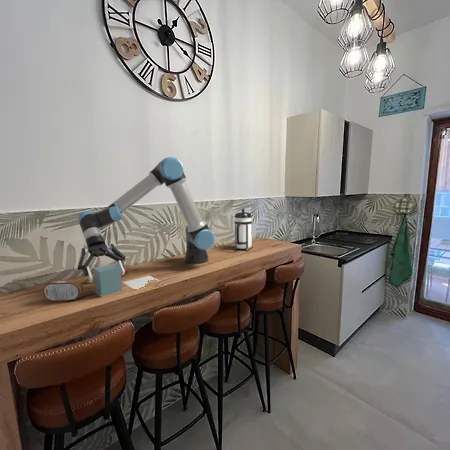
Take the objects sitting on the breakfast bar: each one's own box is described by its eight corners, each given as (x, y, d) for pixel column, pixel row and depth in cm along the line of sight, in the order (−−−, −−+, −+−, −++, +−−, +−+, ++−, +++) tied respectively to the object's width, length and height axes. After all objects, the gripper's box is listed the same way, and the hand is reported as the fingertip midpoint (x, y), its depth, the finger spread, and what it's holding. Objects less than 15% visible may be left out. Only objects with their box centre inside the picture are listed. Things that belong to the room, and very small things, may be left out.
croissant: (84, 292, 125) (83, 280, 121) (80, 278, 132) (80, 266, 128) (129, 282, 137) (130, 271, 133) (124, 269, 143) (125, 258, 139)
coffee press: (229, 248, 199) (228, 208, 195) (248, 246, 204) (248, 207, 200) (237, 253, 183) (236, 210, 179) (258, 251, 187) (258, 209, 183)
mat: (149, 276, 136) (149, 275, 136) (163, 282, 126) (163, 282, 126) (122, 283, 127) (122, 282, 127) (135, 290, 117) (134, 289, 117)
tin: (84, 298, 110) (82, 278, 109) (80, 301, 107) (78, 281, 106) (47, 299, 110) (45, 280, 108) (42, 302, 106) (40, 282, 105)
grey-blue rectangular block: (115, 286, 122) (113, 263, 121) (122, 291, 116) (120, 267, 115) (95, 291, 117) (93, 267, 115) (101, 297, 110) (99, 271, 109)
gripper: (119, 240, 134) (133, 275, 125) (63, 248, 118) (75, 289, 109) (122, 231, 130) (137, 266, 121) (64, 238, 113) (77, 279, 104)
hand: (108, 277), depth 115 cm, fingers open, 13 cm apart
